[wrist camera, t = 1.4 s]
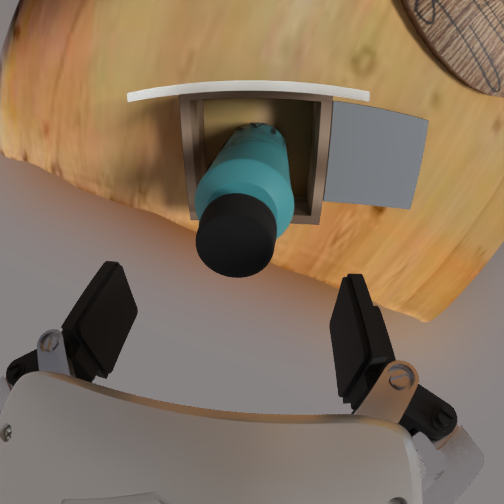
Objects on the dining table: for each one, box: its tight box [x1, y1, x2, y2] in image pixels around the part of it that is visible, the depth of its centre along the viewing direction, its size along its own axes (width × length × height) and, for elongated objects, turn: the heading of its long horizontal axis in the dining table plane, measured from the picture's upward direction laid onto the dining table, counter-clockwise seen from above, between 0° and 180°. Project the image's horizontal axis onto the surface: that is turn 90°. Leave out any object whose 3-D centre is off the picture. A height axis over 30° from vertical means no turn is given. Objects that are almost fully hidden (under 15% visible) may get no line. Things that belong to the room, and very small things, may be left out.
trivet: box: [401, 0, 504, 97], centre depth 12 cm, size 25×25×2 cm
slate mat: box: [323, 101, 428, 209], centre depth 28 cm, size 12×12×1 cm
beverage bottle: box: [194, 122, 294, 278], centre depth 21 cm, size 6×7×20 cm
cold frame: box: [127, 80, 370, 225], centre depth 23 cm, size 15×14×15 cm
